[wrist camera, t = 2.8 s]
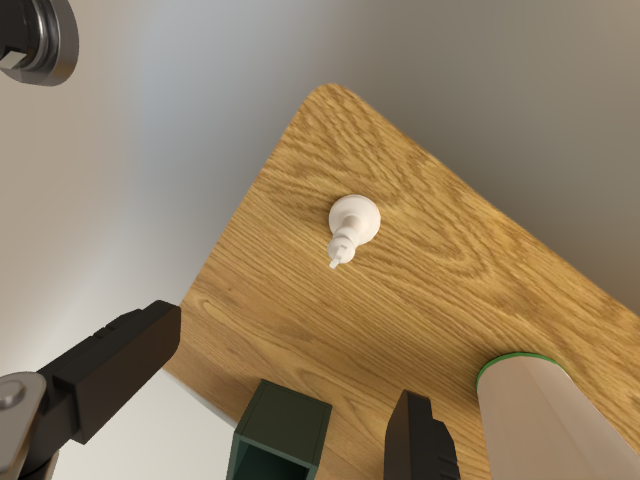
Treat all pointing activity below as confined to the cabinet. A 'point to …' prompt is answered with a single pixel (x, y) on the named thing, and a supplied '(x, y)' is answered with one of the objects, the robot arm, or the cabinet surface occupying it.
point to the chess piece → (351, 226)
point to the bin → (279, 436)
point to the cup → (546, 425)
